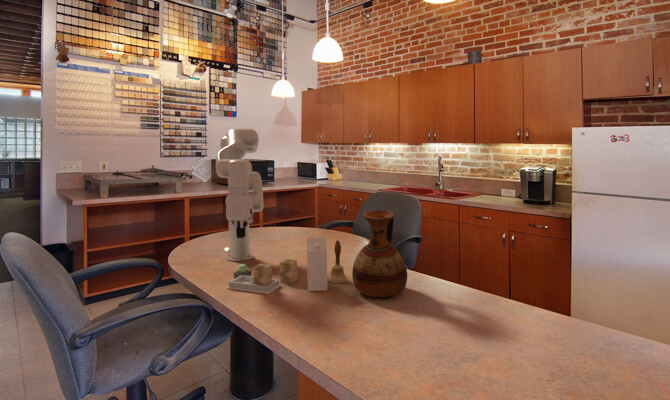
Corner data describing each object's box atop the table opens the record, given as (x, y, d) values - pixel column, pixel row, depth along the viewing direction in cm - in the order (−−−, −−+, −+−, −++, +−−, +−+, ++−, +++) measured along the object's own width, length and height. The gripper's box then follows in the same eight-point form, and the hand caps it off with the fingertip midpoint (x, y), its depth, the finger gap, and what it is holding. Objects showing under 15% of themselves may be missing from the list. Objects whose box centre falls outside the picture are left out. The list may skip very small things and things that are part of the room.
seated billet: (253, 288, 147) (252, 267, 146) (260, 284, 151) (260, 263, 150) (265, 289, 145) (264, 268, 144) (272, 285, 149) (271, 264, 148)
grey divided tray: (227, 288, 148) (226, 281, 148) (240, 281, 157) (240, 274, 156) (269, 294, 142) (268, 287, 142) (281, 286, 150) (280, 279, 150)
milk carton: (307, 285, 151) (306, 236, 149) (326, 284, 152) (325, 235, 149) (308, 291, 144) (306, 240, 142) (327, 290, 145) (326, 240, 142)
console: (234, 279, 158) (233, 272, 158) (241, 276, 163) (240, 269, 163) (244, 281, 157) (244, 273, 156) (251, 277, 161) (251, 270, 161)
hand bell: (350, 277, 159) (350, 239, 157) (344, 284, 151) (343, 243, 149) (331, 276, 162) (330, 237, 160) (324, 282, 154) (323, 242, 152)
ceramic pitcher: (344, 298, 137) (343, 213, 134) (361, 280, 156) (361, 205, 152) (400, 305, 131) (401, 215, 127) (411, 285, 149) (412, 207, 145)
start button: (237, 275, 159) (237, 266, 158) (241, 273, 162) (241, 264, 161) (243, 276, 158) (243, 266, 157) (248, 274, 161) (247, 264, 160)
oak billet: (280, 282, 155) (279, 262, 154) (286, 278, 160) (285, 259, 159) (291, 283, 153) (291, 263, 152) (297, 279, 158) (296, 260, 157)
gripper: (217, 192, 155) (219, 238, 157) (250, 193, 149) (252, 240, 152) (228, 190, 162) (230, 234, 164) (260, 191, 156) (262, 236, 159)
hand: (241, 237), depth 158 cm, fingers closed
